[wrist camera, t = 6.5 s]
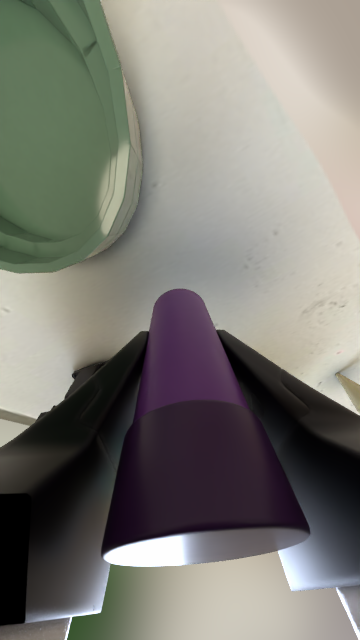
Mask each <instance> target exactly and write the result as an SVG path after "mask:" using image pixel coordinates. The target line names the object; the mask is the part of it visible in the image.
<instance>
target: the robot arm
mask: <svg viewBox="0 0 360 640" xmlns="http://www.w3.org/2000/svg"><path fill="white" fill-rule="evenodd" d="M216 332H217V334H218V336H219V339H220V341H221V343H222V346H223V348H224V350H225V353H226V355H227V357H228V360H229V362H230V364H231V367H232V369H233V372H234V374H235V376H236V379H237V381H238V383H239V386H240V388H241V390H242V393H243V395H244V397H245V400H246V402H247V404H248V407H249V409H250V411H252V412H253V413H254V414H255V415H256V416H257V417H258V418H259V419H260V421H261V422H262V424H263V426H264V428H265V430H266V433H267V435H268V437H269V439H270V441H271V443H272V446H273V448H274V450H275V452H276V454H277V457H278V459H279V461H280V463H281V465H282V467H283V470H284V472H285V474H286V476H287V478H288V481H289V483H290V485H291V487H292V489H293V491H294V494H295V496H296V498H297V500H298V502H299V505H300V507H301V509H302V511H303V513H304V515H305V518H306V520H307V522H308V524H309V527H310V536H309V537H308V538H307V539H306V540H305V541H304V542H302V543H300V544H297V545H295V546H292V547H289V548H286V549H282V550H279V551H278V553H279V556H280V559H281V562H282V565H283V567H284V571H285V574H286V577H287V580H288V583H289V585H290V588H291V590H292V591H301V590H312V589H324V588H334V587H335V588H336V590H337V592H338V594H339V597H340V599H341V601H342V603H343V605H344V607H345V610H346V612H347V614H348V616H349V619H350V621H351V623H352V625H353V627H354V630H355V632H356V634H357V636H358V639H359V640H360V416H359V415H357V414H356V413H354V412H352V411H351V410H349V409H347V408H345V407H344V406H342V405H340V404H339V403H337V402H335V401H333V400H332V399H330V398H328V397H327V396H325V395H323V394H321V393H320V392H318V391H316V390H315V389H313V388H311V387H310V386H308V385H306V384H305V383H303V382H302V381H300V380H298V379H297V378H295V377H294V376H292V375H291V374H289V373H288V372H286V371H285V370H283V369H281V368H280V367H279V366H277V365H276V364H274V363H273V362H271V361H270V360H268V359H267V358H265V357H264V356H262V355H261V354H259V353H258V352H256V351H255V350H253V349H252V348H250V347H249V346H247V345H246V344H244V343H243V342H241V341H240V340H238V339H237V338H235V337H234V336H232V335H231V334H229V333H228V332H226V331H225V330H216ZM148 335H149V332H148V331H141V332H140V333H139V334H138V335H136V336H135V337H134V338H133V339H132V340H131V341H130V342H129V343H128V344H127V345H125V346H124V347H123V348H122V349H121V350H120V351H119V352H118V353H117V354H116V355H114V356H113V357H112V358H111V359H110V360H109V361H107V362H103V363H100V364H96V365H93V366H90V367H86V368H83V369H81V370H77V371H75V372H74V373H73V374H72V377H73V378H74V379H75V380H74V382H73V384H72V385H71V387H70V389H69V390H68V392H67V394H66V395H65V400H63V401H62V402H61V403H60V404H58V405H57V406H55V405H54V406H53V408H52V409H51V411H48V412H44V413H41V414H40V416H39V417H38V419H37V420H36V422H35V423H34V424H33V425H31V426H30V427H29V428H28V429H26V430H25V431H24V432H22V433H21V434H20V435H18V436H17V437H16V438H14V439H13V440H11V441H10V442H8V443H7V444H5V445H4V446H2V447H0V640H66V638H67V634H68V630H69V626H70V622H71V618H72V617H73V616H80V615H87V614H94V613H100V612H101V608H102V603H103V598H104V594H105V588H106V584H107V579H108V574H109V569H110V564H111V563H109V562H107V561H105V560H104V559H103V558H102V557H101V547H102V542H103V537H104V532H105V527H106V523H107V518H108V513H109V508H110V503H111V498H112V494H113V489H114V484H115V479H116V474H117V469H118V465H119V460H120V455H121V450H122V445H123V440H124V436H125V434H126V432H127V430H128V429H129V427H130V426H131V425H132V424H133V419H134V413H135V408H136V402H137V397H138V391H139V385H140V380H141V374H142V369H143V363H144V358H145V352H146V347H147V341H148Z"/></svg>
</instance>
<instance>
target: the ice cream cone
mask: <svg viewBox="0 0 360 640" xmlns="http://www.w3.org/2000/svg"><path fill="white" fill-rule="evenodd" d="M336 377H337V378H338V380H339V381H340V383H341V385H342V386H343V388H344V390H345V391H346V393H347V395H348V396H349V398H350V399H351V401H352V403H353V404H354V406H355V408H356V409H357V411H358V412H359V414H360V385H359V384H357V383H355V382H353V381H352V380H350V379H348V378H346V377H345V376H343V375H341V374H339V373H337V374H336Z"/></svg>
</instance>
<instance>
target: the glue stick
mask: <svg viewBox="0 0 360 640" xmlns="http://www.w3.org/2000/svg"><path fill="white" fill-rule="evenodd" d="M309 536H310V527H309V524H308V522H307V520H306V518H305V515H304V513H303V511H302V509H301V507H300V505H299V502H298V500H297V498H296V496H295V494H294V491H293V489H292V487H291V485H290V483H289V481H288V478H287V476H286V474H285V472H284V470H283V467H282V465H281V463H280V461H279V459H278V457H277V454H276V452H275V450H274V448H273V446H272V443H271V441H270V439H269V437H268V435H267V433H266V430H265V428H264V426H263V424H262V422H261V421H260V419H259V418H258V417H257V416H256V415H255V414H254V413H253V412H252V411H250V409H249V407H248V404H247V402H246V400H245V397H244V395H243V393H242V390H241V388H240V386H239V383H238V381H237V379H236V376H235V374H234V372H233V369H232V367H231V364H230V362H229V360H228V357H227V355H226V353H225V350H224V348H223V346H222V343H221V341H220V339H219V336H218V334H217V332H216V329H215V327H214V325H213V322H212V320H211V318H210V315H209V313H208V310H207V308H206V306H205V303H204V301H203V300H202V298H201V297H200V296H199V295H198V294H196V293H195V292H193V291H190V290H187V289H173V290H170V291H167V292H166V293H164V294H163V295H161V296H160V297H159V298H158V299H157V301H156V303H155V305H154V307H153V313H152V318H151V324H150V329H149V335H148V341H147V347H146V352H145V358H144V363H143V369H142V374H141V380H140V385H139V391H138V397H137V402H136V408H135V413H134V419H133V424H132V425H131V426H130V427H129V429H128V430H127V432H126V434H125V436H124V440H123V445H122V450H121V455H120V460H119V465H118V469H117V474H116V479H115V484H114V489H113V494H112V498H111V503H110V508H109V513H108V518H107V523H106V527H105V532H104V537H103V542H102V547H101V557H102V558H103V559H104V560H105V561H107V562H109V563H112V564H117V565H125V566H173V565H188V564H199V563H209V562H218V561H225V560H232V559H239V558H244V557H250V556H256V555H261V554H265V553H270V552H274V551H279V550H282V549H286V548H289V547H292V546H295V545H297V544H300V543H302V542H304V541H305V540H306V539H307V538H308V537H309Z"/></svg>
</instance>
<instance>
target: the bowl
mask: <svg viewBox="0 0 360 640" xmlns="http://www.w3.org/2000/svg"><path fill="white" fill-rule="evenodd" d="M142 172H143V161H142V151H141V141H140V131H139V122H138V118H137V115H136V112H135V109H134V105H133V102H132V99H131V96H130V93H129V89H128V86H127V83H126V80H125V77H124V73H123V70H122V67H121V64H120V61H119V58H118V55H117V51H116V48H115V45H114V42H113V39H112V36H111V33H110V30H109V27H108V23H107V20H106V17H105V14H104V11H103V8H102V5H101V2H100V0H0V269H2V270H6V271H10V272H14V273H47V272H56V271H58V270H61V269H63V268H66V267H68V266H71V265H73V264H76V263H78V262H81V261H83V260H86V259H88V258H90V257H92V256H94V255H96V254H98V253H100V252H102V251H104V250H106V249H107V248H109V247H110V246H111V245H112V244H113V243H114V242H115V241H116V240H117V239H118V238H119V237H120V236H121V235H122V234H123V233H124V232H125V230H126V228H127V226H128V224H129V222H130V220H131V218H132V216H133V214H134V212H135V210H136V207H137V204H138V199H139V192H140V186H141V179H142Z"/></svg>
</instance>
